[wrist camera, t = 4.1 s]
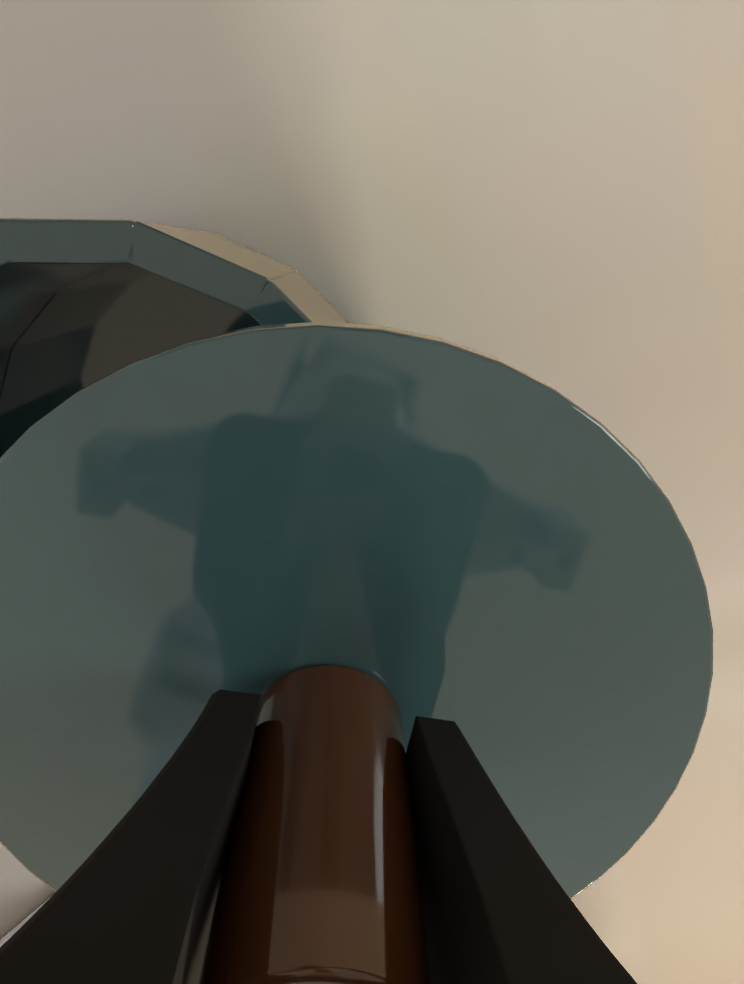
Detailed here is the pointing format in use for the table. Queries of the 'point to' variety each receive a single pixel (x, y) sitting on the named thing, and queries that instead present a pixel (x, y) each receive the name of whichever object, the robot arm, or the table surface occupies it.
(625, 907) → the table surface
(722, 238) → the table surface
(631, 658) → the pot lid
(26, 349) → the pot
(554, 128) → the table surface
